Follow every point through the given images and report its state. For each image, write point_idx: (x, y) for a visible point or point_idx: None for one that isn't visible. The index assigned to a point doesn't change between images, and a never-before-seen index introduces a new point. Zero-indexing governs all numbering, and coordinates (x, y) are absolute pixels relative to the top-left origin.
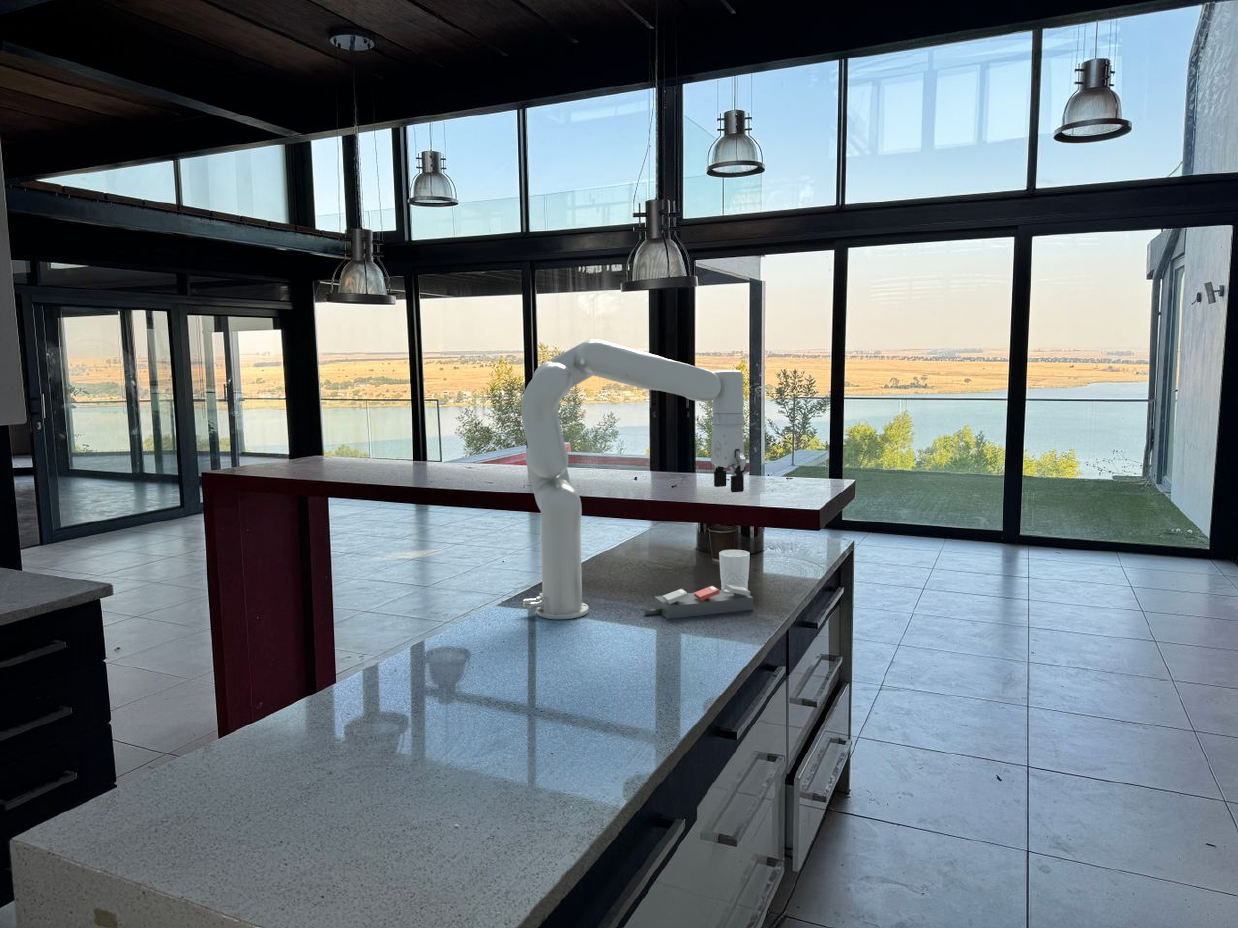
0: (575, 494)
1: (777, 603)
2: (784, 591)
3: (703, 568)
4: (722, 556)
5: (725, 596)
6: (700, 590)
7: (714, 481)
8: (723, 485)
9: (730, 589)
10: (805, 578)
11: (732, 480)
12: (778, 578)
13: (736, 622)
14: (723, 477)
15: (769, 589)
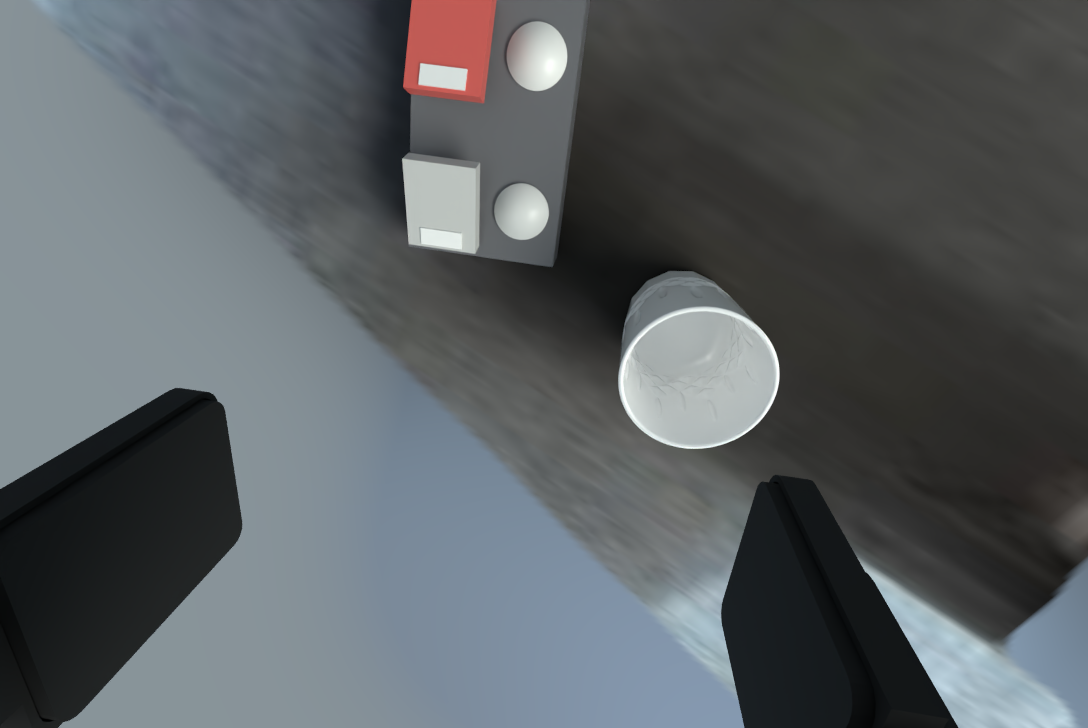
0: None
1: (457, 352)
2: (571, 451)
3: (1050, 396)
4: (692, 304)
5: (462, 150)
6: (483, 25)
7: (817, 525)
8: (732, 586)
9: (417, 157)
10: (669, 587)
11: (21, 497)
12: (720, 528)
13: (303, 89)
14: (758, 701)
15: (618, 427)
